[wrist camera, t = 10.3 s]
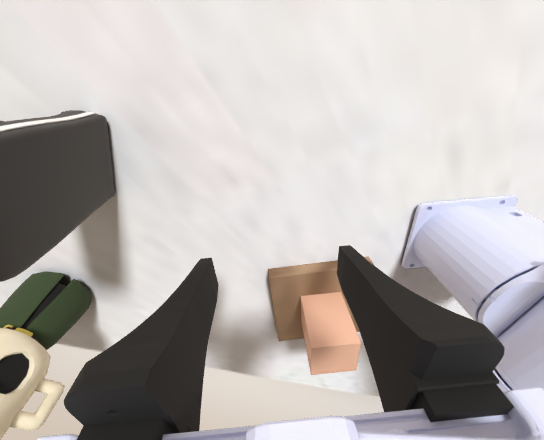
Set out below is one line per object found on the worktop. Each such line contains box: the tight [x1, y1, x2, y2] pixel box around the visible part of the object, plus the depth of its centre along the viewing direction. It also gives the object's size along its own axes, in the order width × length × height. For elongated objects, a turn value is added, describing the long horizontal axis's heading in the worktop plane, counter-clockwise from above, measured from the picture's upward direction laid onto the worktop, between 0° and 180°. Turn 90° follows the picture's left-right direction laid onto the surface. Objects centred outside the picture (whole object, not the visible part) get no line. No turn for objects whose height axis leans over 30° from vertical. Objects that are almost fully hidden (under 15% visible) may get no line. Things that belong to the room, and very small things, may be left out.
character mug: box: [0, 272, 92, 439], centre depth 20 cm, size 11×7×13 cm, turn 50°
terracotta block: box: [301, 292, 361, 375], centre depth 25 cm, size 4×4×6 cm
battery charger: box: [0, 111, 114, 281], centre depth 14 cm, size 7×4×11 cm, turn 167°
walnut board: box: [268, 257, 373, 341], centre depth 29 cm, size 11×11×2 cm
